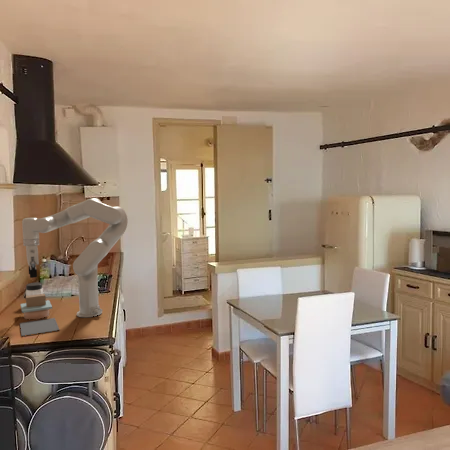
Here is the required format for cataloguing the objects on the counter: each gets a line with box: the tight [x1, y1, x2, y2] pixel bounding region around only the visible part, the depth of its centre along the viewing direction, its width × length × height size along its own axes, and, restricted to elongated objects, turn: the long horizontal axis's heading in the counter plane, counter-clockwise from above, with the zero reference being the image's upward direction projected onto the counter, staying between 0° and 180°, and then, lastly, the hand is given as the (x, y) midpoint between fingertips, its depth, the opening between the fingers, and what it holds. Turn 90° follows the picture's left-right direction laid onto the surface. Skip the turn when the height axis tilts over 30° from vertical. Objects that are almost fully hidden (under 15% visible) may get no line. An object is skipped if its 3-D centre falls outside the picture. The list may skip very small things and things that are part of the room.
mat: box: [19, 317, 60, 337], centre depth 215 cm, size 20×16×1 cm
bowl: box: [23, 309, 50, 321], centre depth 232 cm, size 12×12×5 cm
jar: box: [25, 282, 44, 297], centre depth 252 cm, size 9×8×12 cm
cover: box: [20, 293, 53, 314], centre depth 232 cm, size 14×14×6 cm
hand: (32, 275), depth 230 cm, fingers open, 9 cm apart
